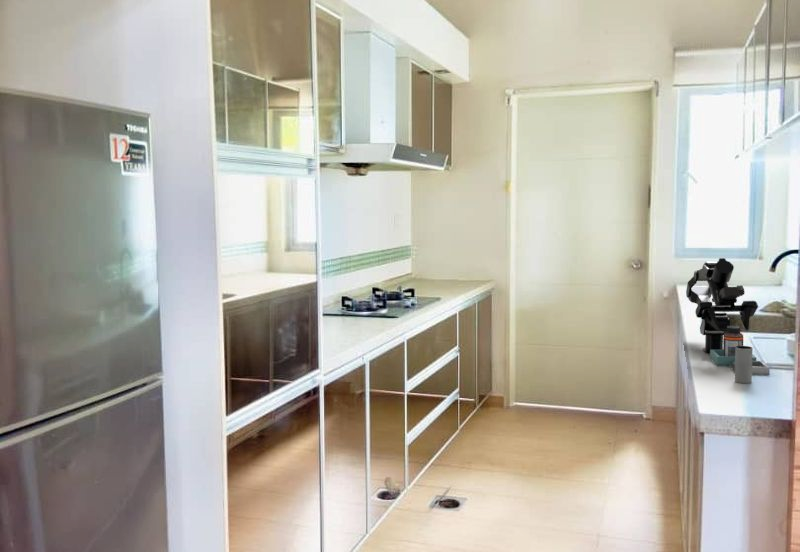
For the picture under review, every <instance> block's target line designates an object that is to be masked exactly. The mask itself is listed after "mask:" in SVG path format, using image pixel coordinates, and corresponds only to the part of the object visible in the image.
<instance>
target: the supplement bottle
mask: <svg viewBox="0 0 800 552" xmlns="http://www.w3.org/2000/svg"><path fill="white" fill-rule="evenodd" d="M736 346H744V334H743V333H742V332H741V327H740V326H737V325H730V326H727V332H726V333H725V334H724V335H723V356H726V357H735V347H736Z"/></svg>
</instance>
